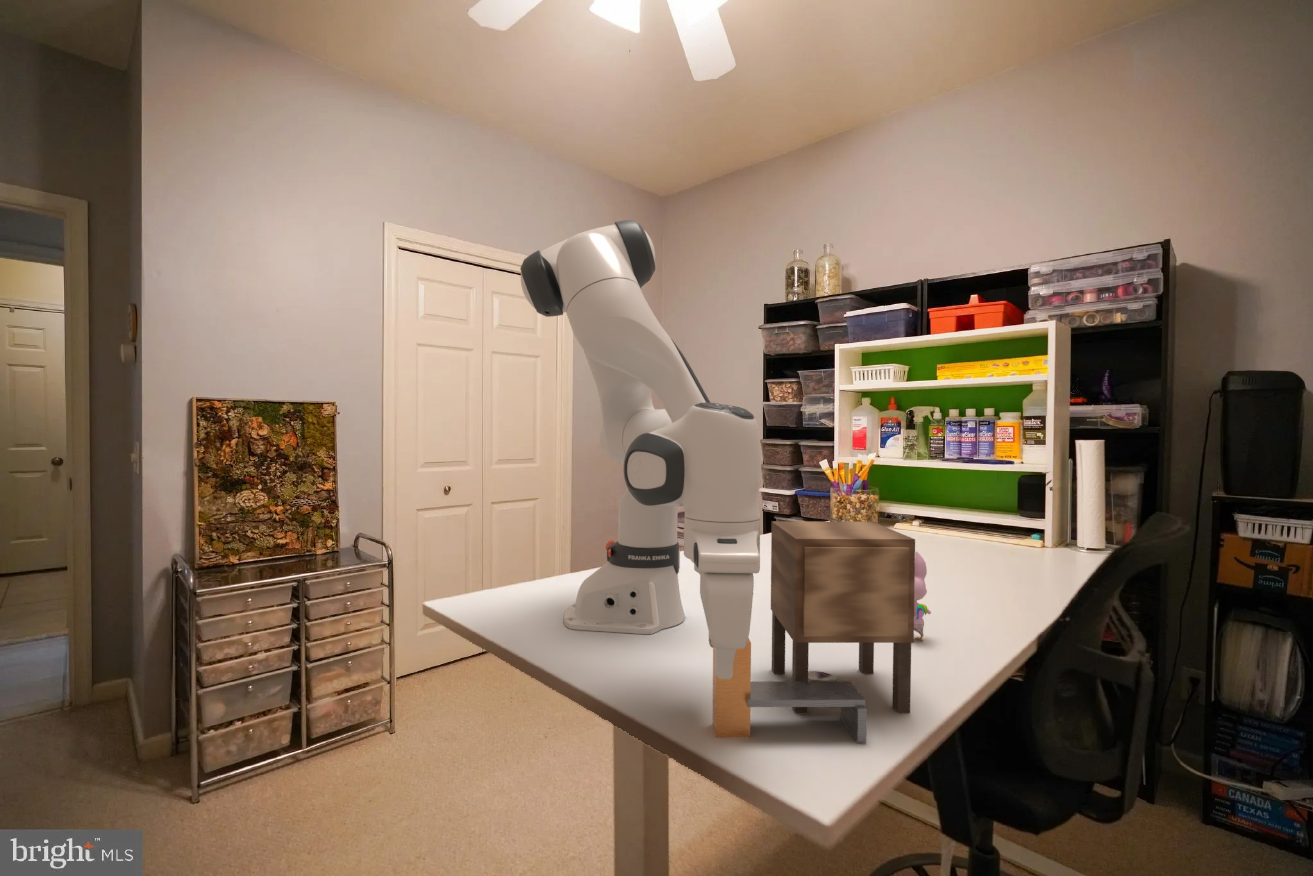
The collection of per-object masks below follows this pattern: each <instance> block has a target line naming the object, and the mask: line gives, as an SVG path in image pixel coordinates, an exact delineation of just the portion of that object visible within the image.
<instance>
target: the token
mask: <svg viewBox="0 0 1313 876" xmlns="http://www.w3.org/2000/svg"><path fill="white" fill-rule="evenodd" d="M808 681H839V679H838V678H837V677H836V676H834V675H832V674H830V673H827V672H823V671H819V670H815V671H814V670H813V671H812V670H811V671H810V670H808Z"/></svg>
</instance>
